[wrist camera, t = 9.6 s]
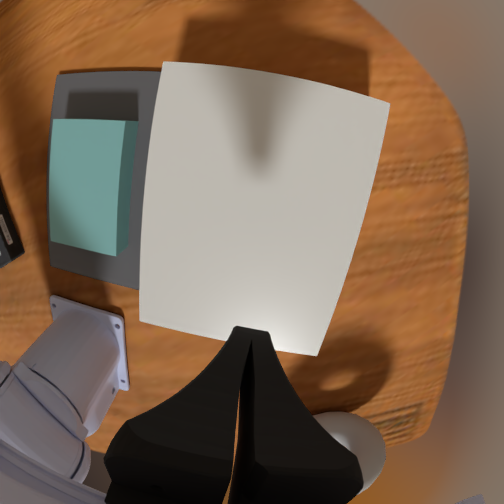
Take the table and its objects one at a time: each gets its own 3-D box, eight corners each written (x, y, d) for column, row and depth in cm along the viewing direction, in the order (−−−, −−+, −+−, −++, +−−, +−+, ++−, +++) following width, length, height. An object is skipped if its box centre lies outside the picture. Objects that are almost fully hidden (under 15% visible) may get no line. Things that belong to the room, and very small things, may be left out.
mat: (152, 291, 23) (151, 293, 23) (52, 264, 23) (50, 266, 23) (176, 73, 17) (175, 72, 17) (59, 75, 17) (57, 74, 17)
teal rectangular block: (50, 240, 20) (64, 232, 22) (116, 256, 20) (128, 246, 22) (53, 119, 16) (69, 118, 18) (125, 121, 16) (138, 121, 18)
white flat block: (311, 322, 23) (316, 355, 20) (158, 292, 23) (139, 320, 20) (368, 108, 17) (390, 103, 14) (183, 73, 17) (163, 61, 14)
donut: (279, 429, 29) (277, 511, 19) (275, 410, 27) (273, 499, 18) (373, 417, 28) (391, 496, 18) (376, 397, 26) (399, 481, 17)
